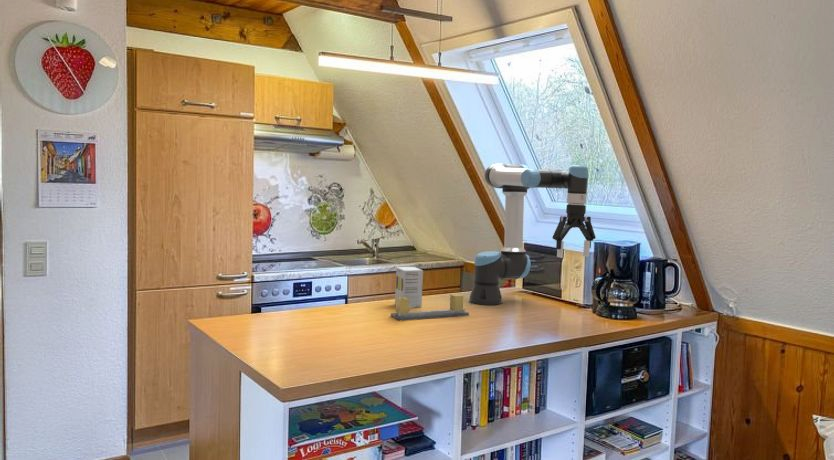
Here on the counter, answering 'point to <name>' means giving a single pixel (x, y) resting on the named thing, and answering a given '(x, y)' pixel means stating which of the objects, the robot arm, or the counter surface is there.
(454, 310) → the board
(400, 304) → the block
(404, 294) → the supplement box
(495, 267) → the robot arm
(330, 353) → the counter surface
